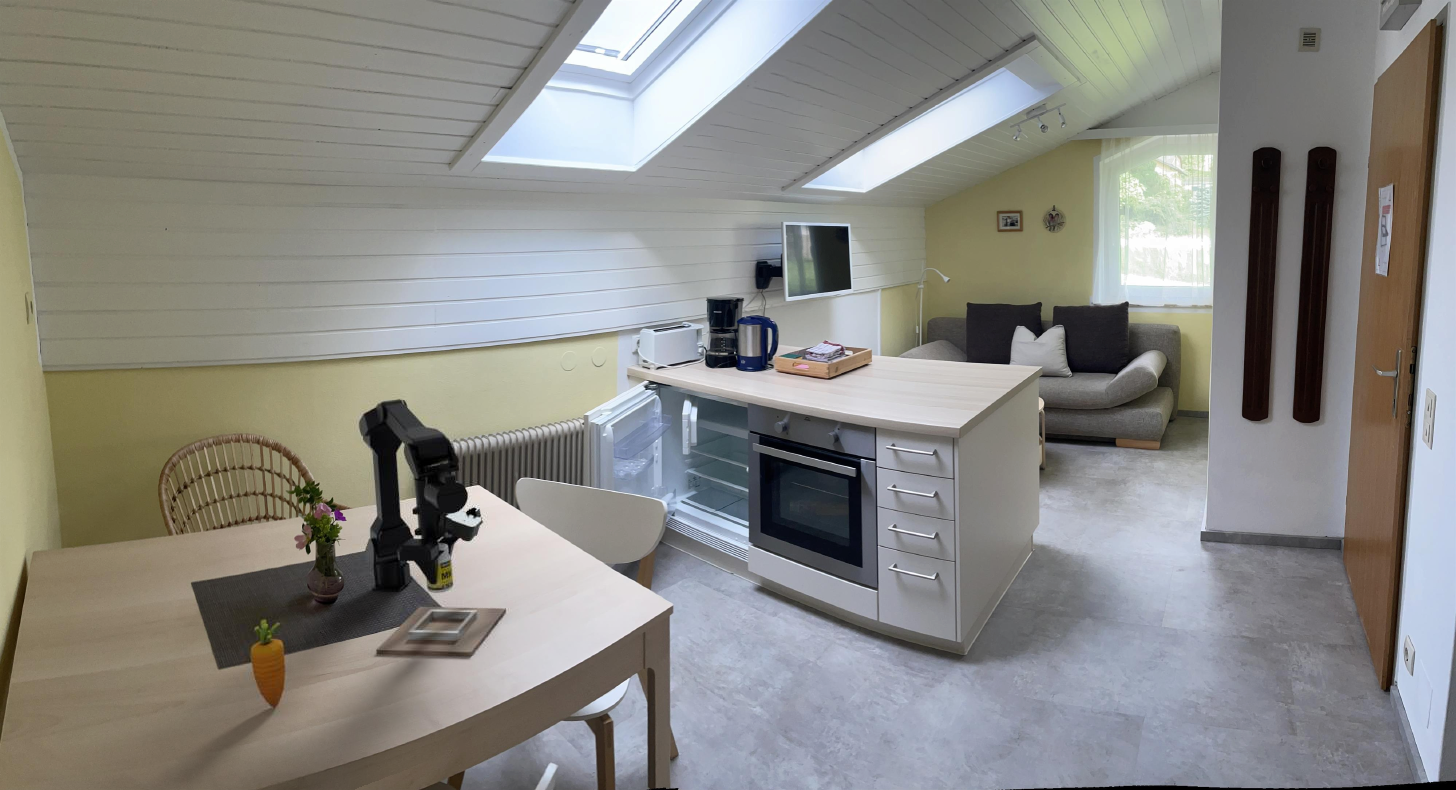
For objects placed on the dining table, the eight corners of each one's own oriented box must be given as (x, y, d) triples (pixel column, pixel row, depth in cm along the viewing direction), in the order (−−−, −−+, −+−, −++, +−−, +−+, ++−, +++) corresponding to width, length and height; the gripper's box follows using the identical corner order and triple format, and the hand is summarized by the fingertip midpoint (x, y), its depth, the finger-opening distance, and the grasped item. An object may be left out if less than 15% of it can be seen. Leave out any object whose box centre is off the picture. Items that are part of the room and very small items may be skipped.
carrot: (265, 699, 140) (254, 615, 137) (296, 697, 140) (285, 613, 137) (251, 716, 135) (239, 629, 132) (284, 714, 135) (272, 627, 132)
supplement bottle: (445, 594, 158) (441, 552, 156) (422, 592, 159) (418, 550, 157) (458, 583, 162) (454, 542, 161) (436, 582, 163) (432, 541, 162)
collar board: (376, 653, 154) (375, 642, 154) (420, 610, 172) (419, 599, 171) (471, 656, 153) (470, 644, 152) (506, 612, 170) (505, 601, 170)
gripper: (453, 517, 147) (460, 600, 150) (492, 485, 166) (498, 560, 169) (392, 516, 148) (400, 599, 151) (437, 485, 167) (444, 559, 170)
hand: (439, 578), depth 160 cm, fingers closed on supplement bottle, 5 cm apart
